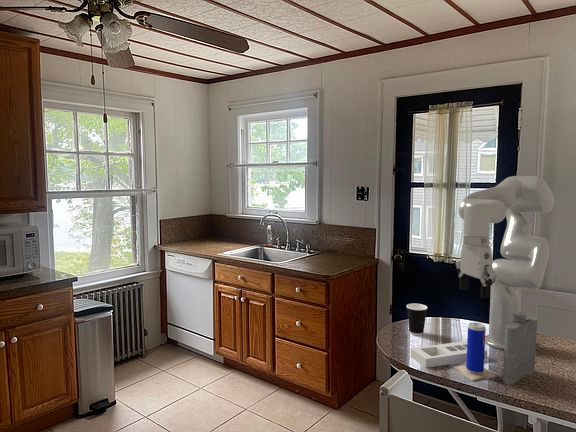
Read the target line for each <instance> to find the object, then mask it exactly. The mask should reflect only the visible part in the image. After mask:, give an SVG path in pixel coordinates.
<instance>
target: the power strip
mask: <svg viewBox="0 0 576 432" xmlns="http://www.w3.org/2000/svg"><path fill="white" fill-rule="evenodd" d="M410 358H412V359H413V360H414V361H416V362H417V363H418V364H420V365H421V366H422V367H424V368H426V369H427V368H433V367H440V366H446V365H454V364H455V365H456V364H461V363H466V362H467V340H464V341H456V342H449V343H448V342H447V343H440V344H433V345H425V346H419V347H418V346H417V347H410ZM486 359H488V349H486V348H485V356H484V360H486Z"/></svg>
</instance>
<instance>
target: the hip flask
mask: <svg viewBox="0 0 576 432" xmlns="http://www.w3.org/2000/svg"><path fill="white" fill-rule="evenodd" d="M513 316H514V321H512V322H510V323H508V324H507V325H506V326H505V347H504V349H503V350H504V351H503V352H504V353H503V372H502V383H503V384H504V385H507V386H513V385H515V384H516V383H517V382H518V381H520V379H522V378H524V377H527V376H528V375H531V374H534V373H535V366H536V351H537V348H536V347H537V330H538V318H537V317H534V316H527V314H525V313H523V312H519V313H514V314H513Z"/></svg>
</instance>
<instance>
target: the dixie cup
mask: <svg viewBox="0 0 576 432" xmlns="http://www.w3.org/2000/svg"><path fill="white" fill-rule="evenodd" d="M406 308H407V317H408V318H407V320H408V330H409V334H410V335H411V334H412V335H411V336H416V337H419V336H423V334H424V332H425V331H424V330H425V324H426V317H427V310H428V309H429V308H428V306H427V305H425V304H421V303H408V304H406Z"/></svg>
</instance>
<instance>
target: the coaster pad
mask: <svg viewBox="0 0 576 432" xmlns="http://www.w3.org/2000/svg"><path fill="white" fill-rule="evenodd" d="M453 369H455V371H457V372H458V373H460V374H461V375H463V376H465V377H466V378H468V379H469V380H470V381H472V382H474V381H475V382H476V381H479V380H486V379H493V378H497V377H498V375H497V374H496V373H494V372H493V371H491V370H489V369H488V368H486V367H484V371H483V372H482V373H480V374H476V373H471V372H469V371H468V370H467V368H466V364H462V365H456V366H453Z"/></svg>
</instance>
